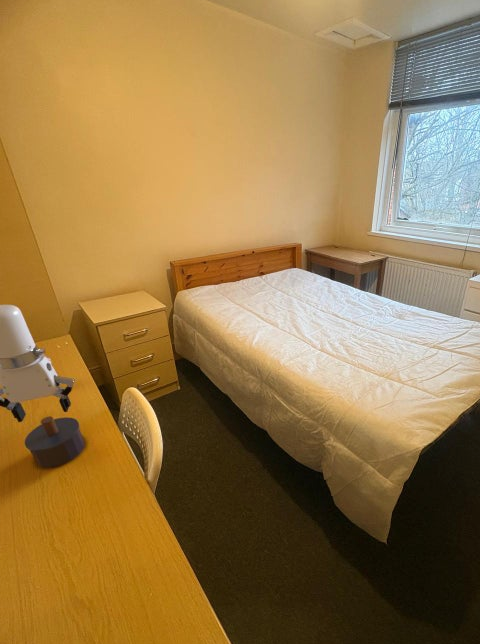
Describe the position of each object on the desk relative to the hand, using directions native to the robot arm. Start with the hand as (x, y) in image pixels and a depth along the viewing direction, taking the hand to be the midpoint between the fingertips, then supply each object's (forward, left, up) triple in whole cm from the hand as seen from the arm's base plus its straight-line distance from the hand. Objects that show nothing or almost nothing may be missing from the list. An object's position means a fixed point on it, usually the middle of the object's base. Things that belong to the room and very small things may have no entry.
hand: (45, 413), depth 83 cm
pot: (0, 0, -14) cm, 14 cm away
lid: (0, 0, -7) cm, 7 cm away
